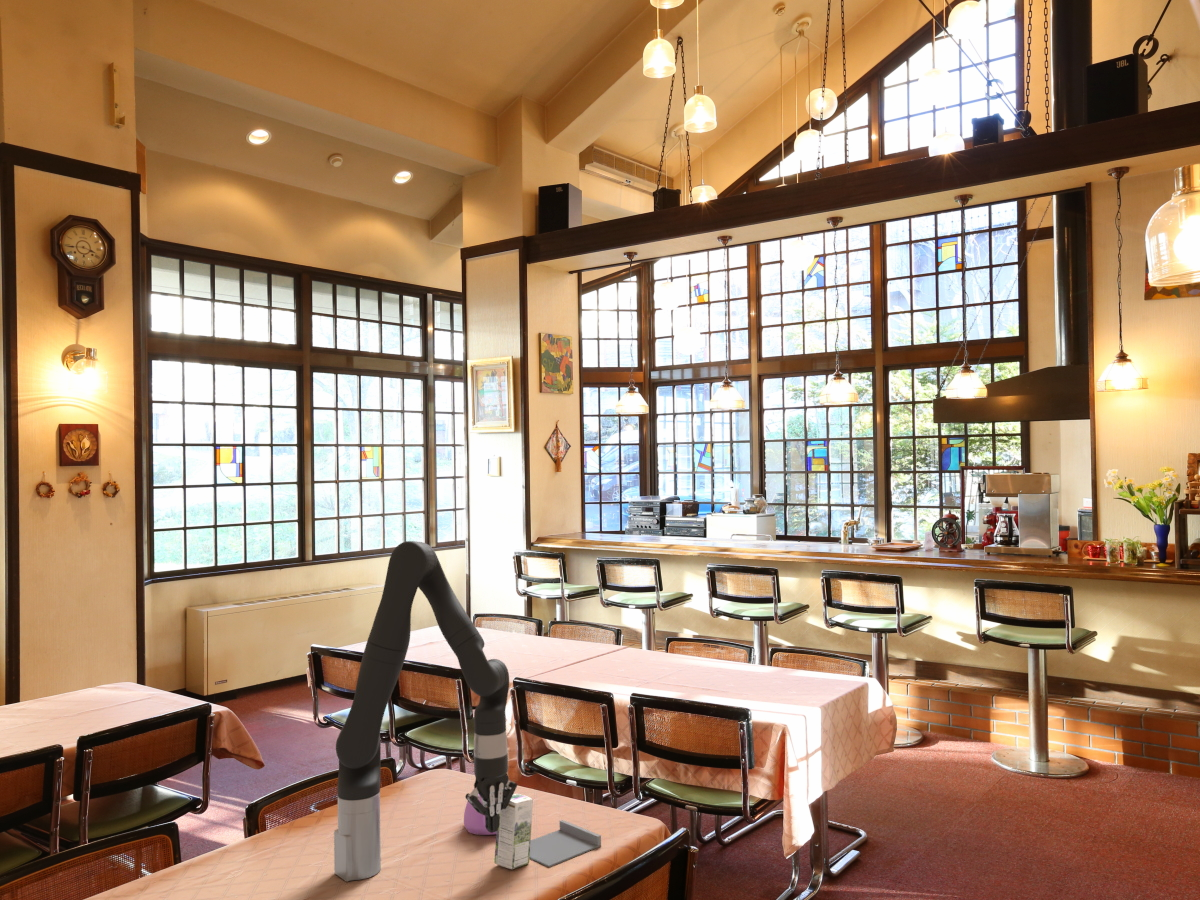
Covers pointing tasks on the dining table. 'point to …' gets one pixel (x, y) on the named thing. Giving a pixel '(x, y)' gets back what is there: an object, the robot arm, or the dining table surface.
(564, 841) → the board with raised edge
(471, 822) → the teapot
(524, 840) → the syrup box
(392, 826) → the dining table surface
